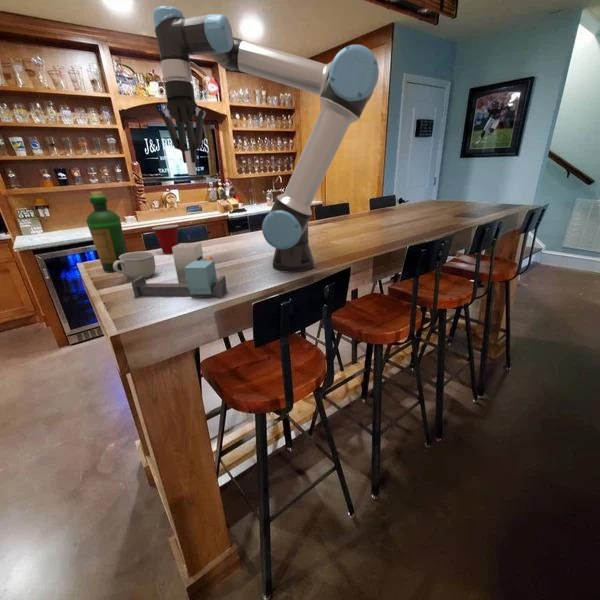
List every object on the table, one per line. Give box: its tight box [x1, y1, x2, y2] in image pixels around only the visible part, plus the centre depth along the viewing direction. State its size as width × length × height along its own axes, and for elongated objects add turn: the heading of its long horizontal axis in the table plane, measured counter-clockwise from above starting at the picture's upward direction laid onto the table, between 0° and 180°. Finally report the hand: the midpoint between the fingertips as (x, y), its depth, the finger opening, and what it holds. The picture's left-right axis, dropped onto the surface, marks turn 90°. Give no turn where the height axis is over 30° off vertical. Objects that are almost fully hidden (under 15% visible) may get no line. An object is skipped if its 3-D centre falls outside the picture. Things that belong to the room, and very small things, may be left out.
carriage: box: [184, 260, 218, 294], centre depth 91 cm, size 6×7×8 cm
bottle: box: [85, 190, 127, 273], centre depth 115 cm, size 11×11×28 cm
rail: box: [130, 275, 228, 299], centre depth 93 cm, size 26×5×5 cm, turn 85°
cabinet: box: [172, 242, 204, 283], centre depth 103 cm, size 7×6×12 cm
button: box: [197, 256, 214, 261], centre depth 102 cm, size 6×4×4 cm
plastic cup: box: [151, 224, 179, 255], centre depth 141 cm, size 11×11×12 cm
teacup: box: [113, 250, 156, 280], centre depth 109 cm, size 14×11×8 cm
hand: (192, 174), depth 96 cm, fingers closed
